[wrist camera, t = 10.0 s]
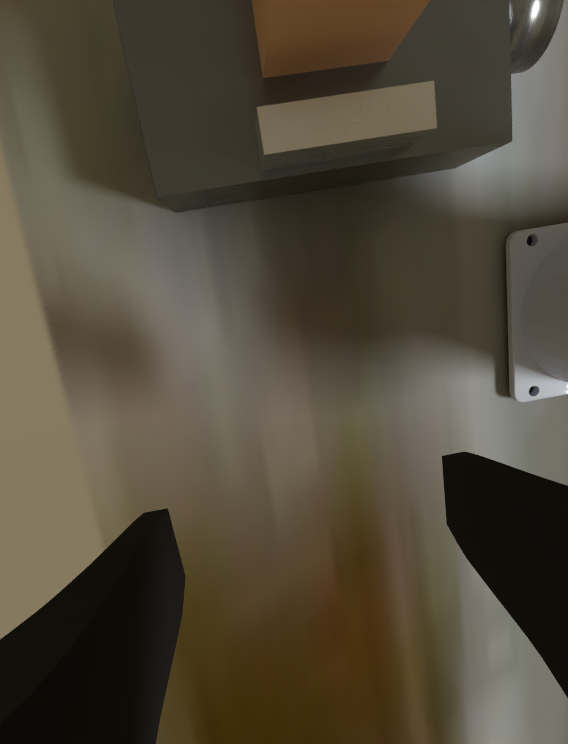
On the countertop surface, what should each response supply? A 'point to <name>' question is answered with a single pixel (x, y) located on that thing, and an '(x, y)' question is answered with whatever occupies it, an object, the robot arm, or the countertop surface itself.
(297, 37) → the tan single stud brick
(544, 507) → the robot arm
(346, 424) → the countertop surface
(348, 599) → the countertop surface
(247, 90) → the grey plate with rails
